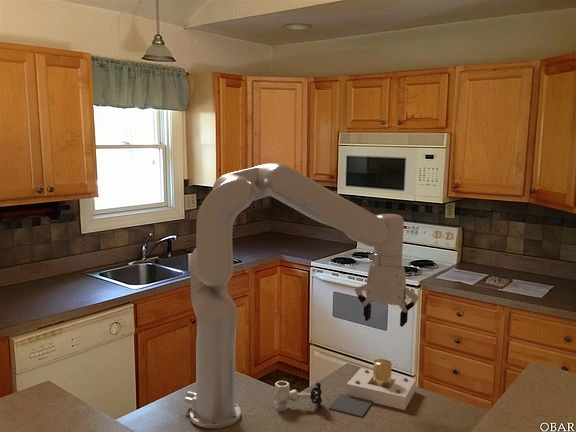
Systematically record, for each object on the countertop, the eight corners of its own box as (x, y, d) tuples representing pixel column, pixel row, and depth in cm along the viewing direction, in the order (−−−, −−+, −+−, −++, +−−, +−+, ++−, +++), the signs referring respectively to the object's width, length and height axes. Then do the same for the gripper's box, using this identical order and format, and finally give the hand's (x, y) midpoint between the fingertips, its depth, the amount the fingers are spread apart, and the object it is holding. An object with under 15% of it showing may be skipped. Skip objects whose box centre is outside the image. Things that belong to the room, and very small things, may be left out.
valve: (274, 414, 130) (321, 413, 131) (274, 389, 129) (322, 389, 130) (273, 401, 137) (318, 401, 138) (273, 378, 136) (318, 377, 137)
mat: (328, 409, 133) (328, 407, 133) (341, 394, 141) (341, 393, 141) (362, 417, 129) (362, 416, 129) (372, 402, 137) (373, 401, 137)
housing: (346, 396, 141) (346, 382, 140) (360, 379, 151) (360, 366, 151) (404, 410, 134) (405, 395, 133) (415, 391, 144) (415, 378, 144)
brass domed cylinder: (370, 395, 141) (371, 363, 140) (375, 388, 146) (376, 357, 145) (387, 399, 139) (388, 367, 138) (391, 392, 144) (393, 361, 143)
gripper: (352, 259, 138) (350, 321, 141) (417, 266, 131) (413, 331, 133) (361, 254, 145) (358, 313, 147) (423, 261, 138) (420, 323, 140)
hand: (384, 322), depth 140 cm, fingers open, 9 cm apart
